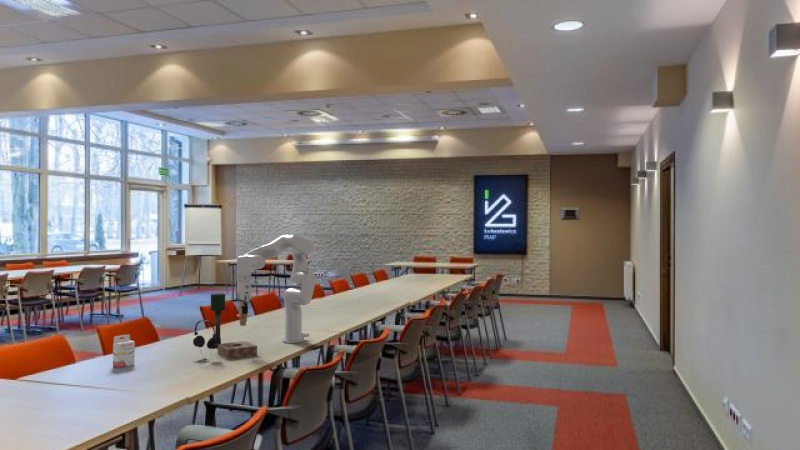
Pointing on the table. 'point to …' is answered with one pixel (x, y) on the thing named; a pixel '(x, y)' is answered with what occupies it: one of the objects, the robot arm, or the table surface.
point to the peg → (242, 315)
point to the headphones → (200, 340)
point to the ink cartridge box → (123, 351)
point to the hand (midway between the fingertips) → (243, 312)
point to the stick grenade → (218, 311)
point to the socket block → (237, 349)
